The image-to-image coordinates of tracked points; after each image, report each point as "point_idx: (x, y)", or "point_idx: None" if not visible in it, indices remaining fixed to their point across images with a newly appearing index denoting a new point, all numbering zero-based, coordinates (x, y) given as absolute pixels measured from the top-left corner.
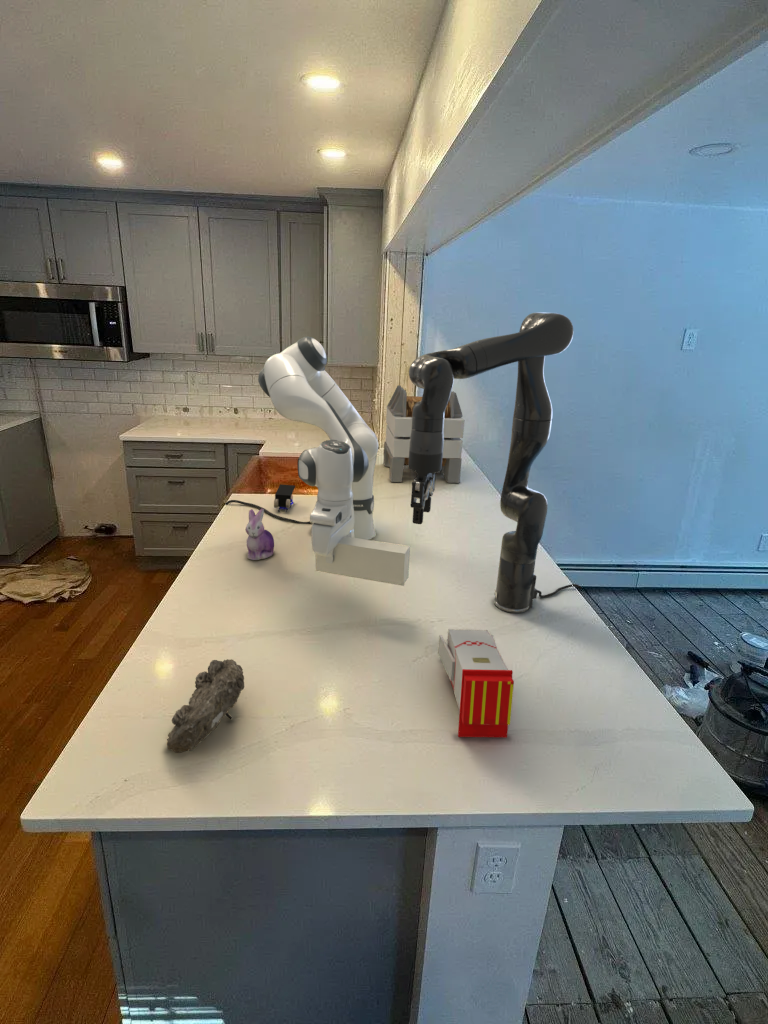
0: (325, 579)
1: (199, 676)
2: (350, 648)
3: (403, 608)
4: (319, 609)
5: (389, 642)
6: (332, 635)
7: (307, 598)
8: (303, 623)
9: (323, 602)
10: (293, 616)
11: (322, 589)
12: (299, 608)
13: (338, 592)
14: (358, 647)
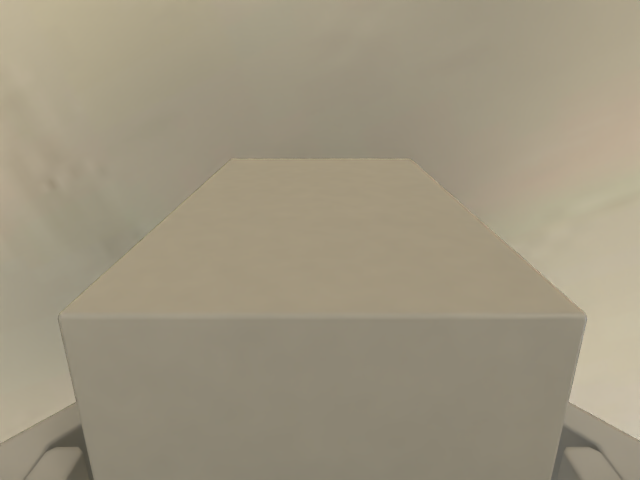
0: (606, 37)
1: None
2: (37, 377)
3: None
4: (257, 149)
5: None
6: (79, 288)
7: (344, 33)
8: (98, 129)
9: (333, 139)
10: (131, 47)
11: (474, 73)
12: (222, 40)
13: (463, 172)
14: (59, 398)
